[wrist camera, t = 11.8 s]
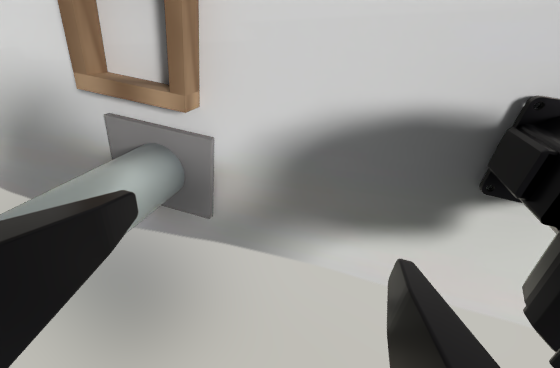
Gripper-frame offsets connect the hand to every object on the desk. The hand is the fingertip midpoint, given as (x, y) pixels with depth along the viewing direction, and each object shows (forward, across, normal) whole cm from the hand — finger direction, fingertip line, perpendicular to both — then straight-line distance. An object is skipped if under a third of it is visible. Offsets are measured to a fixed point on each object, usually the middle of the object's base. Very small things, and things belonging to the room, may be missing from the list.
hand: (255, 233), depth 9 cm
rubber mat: (+13, +13, +7) cm, 20 cm away
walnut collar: (+13, +14, -4) cm, 20 cm away
